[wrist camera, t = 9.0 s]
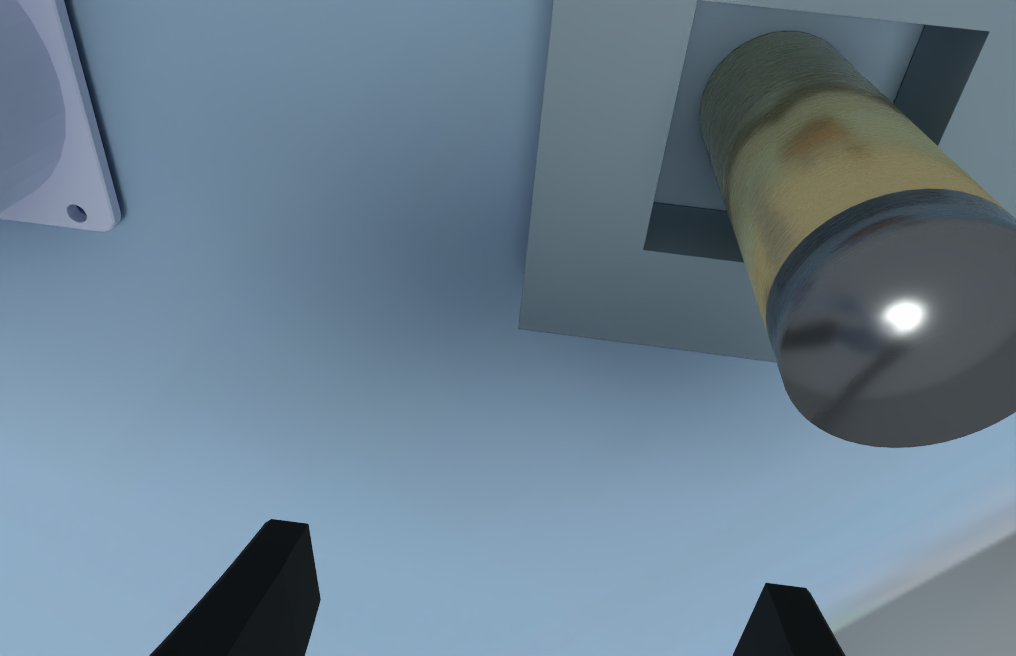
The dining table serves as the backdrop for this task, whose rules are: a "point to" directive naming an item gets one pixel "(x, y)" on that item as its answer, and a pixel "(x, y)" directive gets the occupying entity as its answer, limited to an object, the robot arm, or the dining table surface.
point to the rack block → (703, 232)
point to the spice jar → (862, 249)
